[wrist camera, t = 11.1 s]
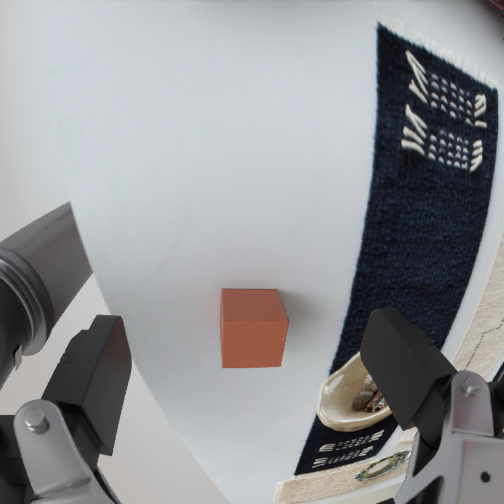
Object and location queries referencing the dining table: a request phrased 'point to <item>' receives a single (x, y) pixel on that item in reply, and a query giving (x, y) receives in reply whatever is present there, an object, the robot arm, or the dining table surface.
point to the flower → (498, 4)
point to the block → (252, 328)
